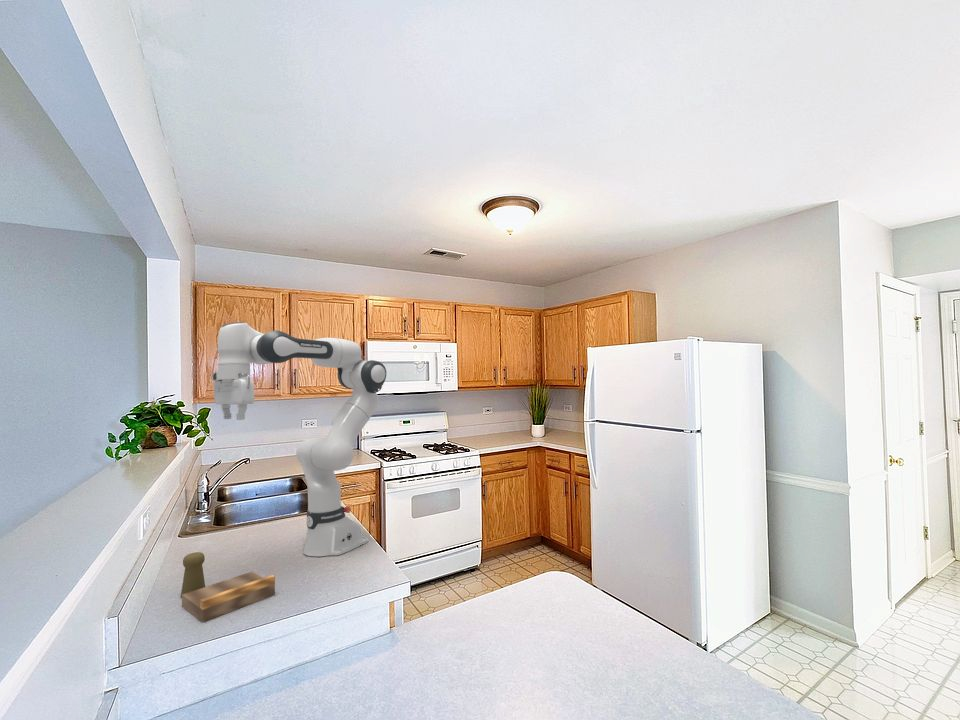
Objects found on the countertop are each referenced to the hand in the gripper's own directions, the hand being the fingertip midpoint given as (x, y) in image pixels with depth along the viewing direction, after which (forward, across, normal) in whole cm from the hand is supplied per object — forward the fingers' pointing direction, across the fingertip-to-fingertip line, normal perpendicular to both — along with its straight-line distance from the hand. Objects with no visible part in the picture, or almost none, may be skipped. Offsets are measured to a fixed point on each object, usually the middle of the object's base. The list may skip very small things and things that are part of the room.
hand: (233, 419), depth 137 cm
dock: (+48, -13, +6) cm, 50 cm away
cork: (+48, 0, +11) cm, 49 cm away
